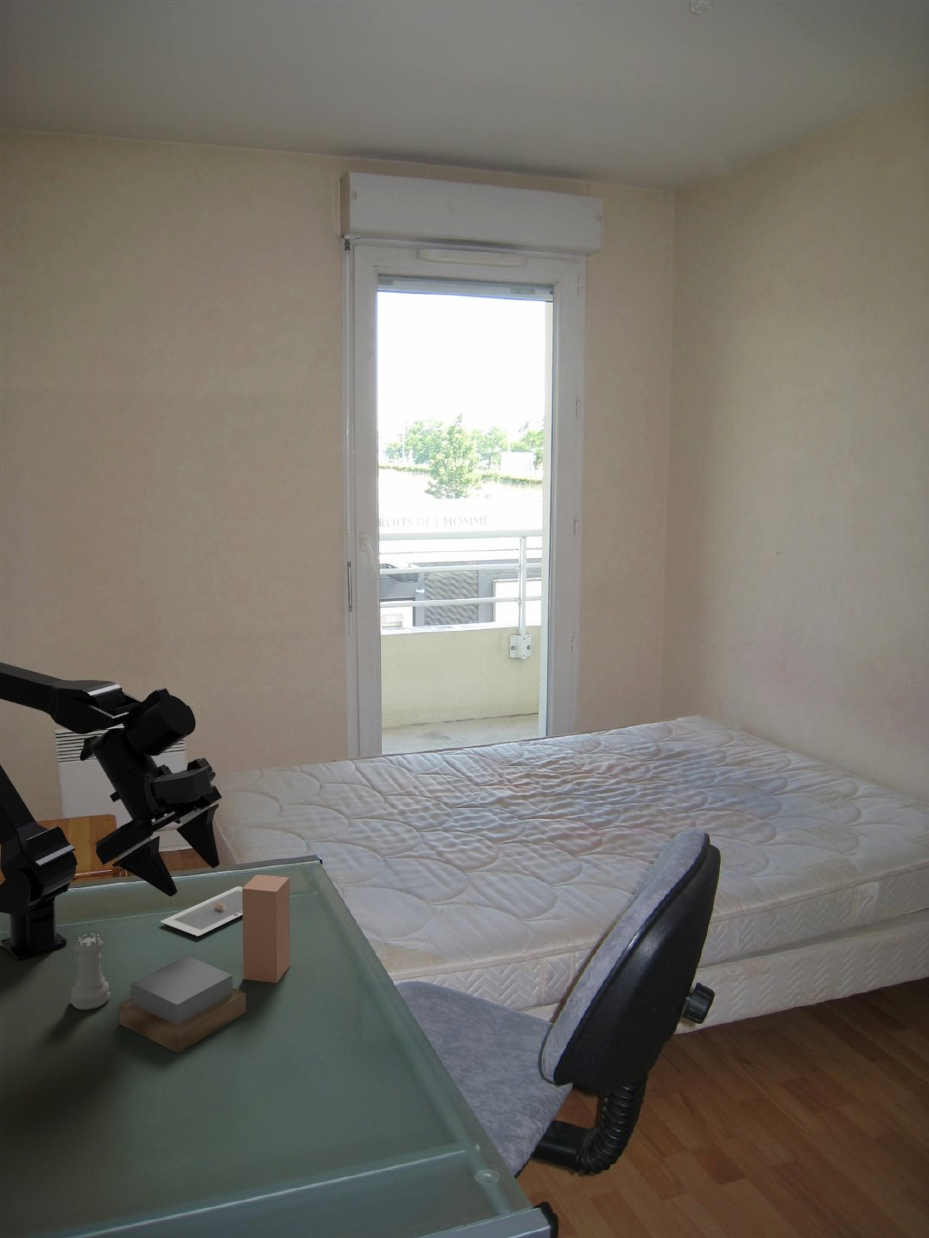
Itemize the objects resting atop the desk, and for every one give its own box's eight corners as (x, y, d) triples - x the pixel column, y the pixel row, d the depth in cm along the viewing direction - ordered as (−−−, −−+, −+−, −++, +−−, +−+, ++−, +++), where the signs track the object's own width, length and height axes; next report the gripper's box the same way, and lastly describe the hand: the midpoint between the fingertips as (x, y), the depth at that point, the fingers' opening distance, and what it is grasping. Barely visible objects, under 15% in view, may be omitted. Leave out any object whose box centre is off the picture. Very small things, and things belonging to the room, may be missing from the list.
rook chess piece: (96, 1013, 109) (94, 948, 108) (62, 1008, 110) (60, 944, 109) (117, 994, 113) (116, 931, 112) (84, 989, 114) (82, 927, 113)
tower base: (120, 1028, 107) (119, 1004, 107) (188, 991, 115) (188, 968, 115) (178, 1057, 102) (177, 1032, 101) (246, 1017, 110) (245, 993, 110)
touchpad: (159, 928, 132) (159, 914, 131) (238, 892, 144) (238, 879, 144) (198, 943, 127) (197, 928, 127) (275, 905, 140) (275, 891, 140)
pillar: (243, 978, 117) (242, 888, 116) (257, 961, 122) (256, 874, 120) (277, 982, 117) (276, 891, 115) (290, 965, 121) (289, 877, 120)
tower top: (131, 1003, 107) (130, 983, 107) (187, 974, 114) (186, 955, 113) (177, 1025, 103) (177, 1004, 102) (232, 994, 109) (232, 974, 109)
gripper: (129, 762, 106) (199, 881, 105) (219, 725, 123) (279, 827, 122) (64, 806, 109) (131, 921, 108) (161, 764, 127) (219, 863, 126)
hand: (196, 880), depth 116 cm, fingers open, 9 cm apart
